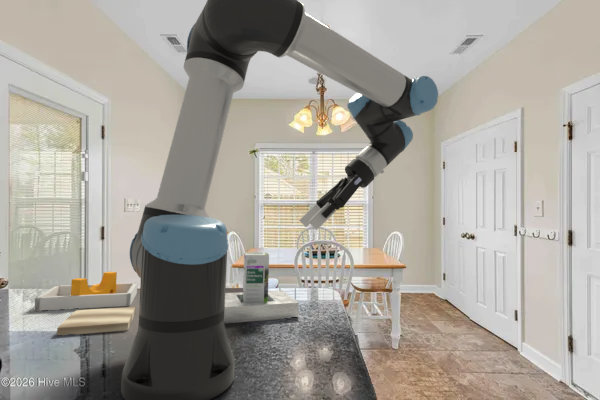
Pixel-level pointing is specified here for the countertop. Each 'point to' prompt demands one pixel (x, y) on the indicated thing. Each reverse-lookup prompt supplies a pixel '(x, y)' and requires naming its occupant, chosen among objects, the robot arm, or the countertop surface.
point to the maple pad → (97, 321)
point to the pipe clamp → (105, 286)
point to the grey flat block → (259, 308)
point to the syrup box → (255, 277)
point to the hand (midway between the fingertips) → (307, 224)
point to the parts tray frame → (85, 298)
